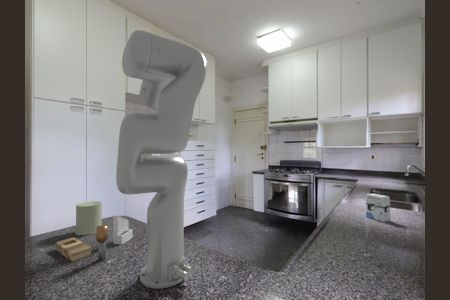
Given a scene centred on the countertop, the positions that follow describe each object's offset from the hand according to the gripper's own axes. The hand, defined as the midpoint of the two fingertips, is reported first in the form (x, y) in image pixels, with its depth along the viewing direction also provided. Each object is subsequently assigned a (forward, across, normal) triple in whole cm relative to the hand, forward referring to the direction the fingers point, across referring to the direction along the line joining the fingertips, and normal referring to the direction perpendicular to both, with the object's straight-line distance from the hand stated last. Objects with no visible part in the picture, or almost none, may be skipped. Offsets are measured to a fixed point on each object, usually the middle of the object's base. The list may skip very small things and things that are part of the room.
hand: (139, 189), depth 82 cm
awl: (+18, -19, -9) cm, 27 cm away
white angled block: (+18, -8, -2) cm, 20 cm away
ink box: (+18, +74, -85) cm, 114 cm away
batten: (+18, -22, +4) cm, 28 cm away
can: (+18, -10, +19) cm, 28 cm away
